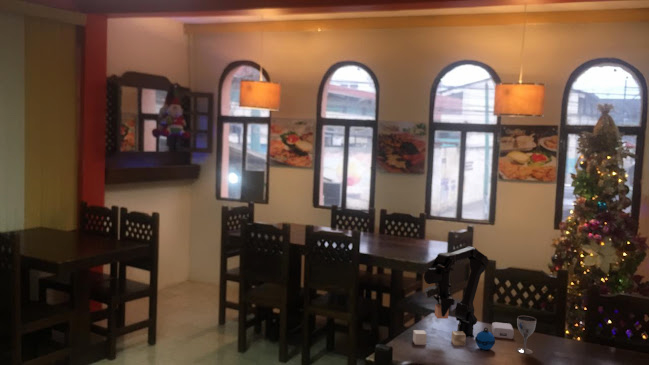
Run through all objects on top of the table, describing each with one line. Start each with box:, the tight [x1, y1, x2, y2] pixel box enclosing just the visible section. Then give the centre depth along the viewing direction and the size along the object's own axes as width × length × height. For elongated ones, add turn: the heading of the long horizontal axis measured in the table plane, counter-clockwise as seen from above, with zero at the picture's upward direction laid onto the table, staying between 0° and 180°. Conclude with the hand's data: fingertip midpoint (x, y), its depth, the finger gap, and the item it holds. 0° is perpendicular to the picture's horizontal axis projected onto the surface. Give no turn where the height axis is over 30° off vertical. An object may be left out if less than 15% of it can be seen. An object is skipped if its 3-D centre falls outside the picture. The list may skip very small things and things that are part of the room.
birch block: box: [450, 330, 466, 346], centre depth 278 cm, size 5×5×5 cm
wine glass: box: [515, 315, 537, 355], centre depth 272 cm, size 8×8×15 cm
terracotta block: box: [434, 303, 450, 320], centre depth 279 cm, size 5×5×5 cm
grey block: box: [412, 329, 428, 346], centre depth 277 cm, size 5×5×5 cm
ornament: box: [474, 327, 496, 351], centre depth 272 cm, size 9×9×10 cm
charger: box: [491, 321, 515, 340], centre depth 296 cm, size 5×9×15 cm
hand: (441, 314), depth 279 cm, fingers closed on terracotta block, 5 cm apart
